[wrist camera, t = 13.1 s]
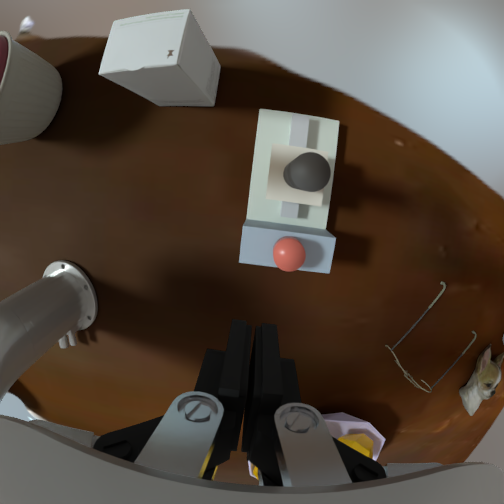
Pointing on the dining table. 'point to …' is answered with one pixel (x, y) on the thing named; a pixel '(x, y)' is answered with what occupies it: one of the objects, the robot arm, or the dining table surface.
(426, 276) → the dining table surface
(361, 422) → the fruit bowl
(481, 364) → the ceramic sculpture
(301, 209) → the rail board
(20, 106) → the canister
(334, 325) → the dining table surface
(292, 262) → the button
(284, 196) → the carriage
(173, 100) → the skincare box
